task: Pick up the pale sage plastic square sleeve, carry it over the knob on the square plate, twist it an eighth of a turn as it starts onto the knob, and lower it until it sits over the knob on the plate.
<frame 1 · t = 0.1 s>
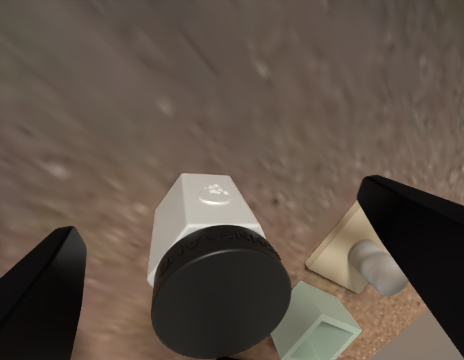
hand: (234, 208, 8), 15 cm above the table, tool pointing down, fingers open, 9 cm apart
sleeve: (302, 309, 34), on the table
knob on square plate: (355, 247, 32), on the table
jar: (201, 209, 25), on the table
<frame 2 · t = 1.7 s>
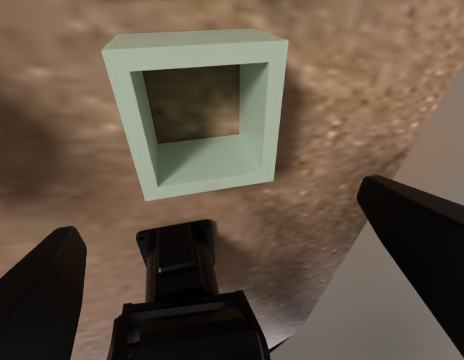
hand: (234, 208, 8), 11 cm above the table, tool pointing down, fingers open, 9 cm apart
sleeve: (195, 98, 16), on the table
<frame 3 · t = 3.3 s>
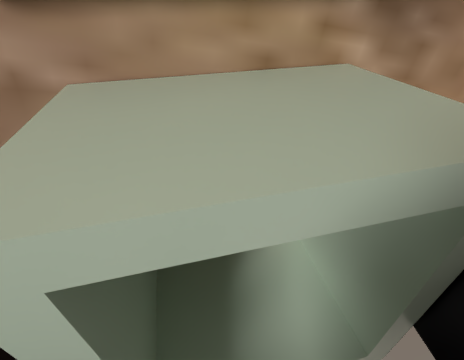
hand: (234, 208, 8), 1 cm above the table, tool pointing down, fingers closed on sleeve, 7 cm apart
sleeve: (226, 185, 9), on the table, touching gripper
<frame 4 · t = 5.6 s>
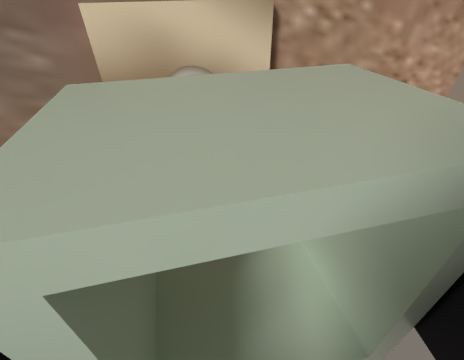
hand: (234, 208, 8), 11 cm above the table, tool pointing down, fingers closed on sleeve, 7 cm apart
sleeve: (226, 185, 9), point 10 cm above the table, touching gripper
knob on square plate: (191, 93, 17), on the table
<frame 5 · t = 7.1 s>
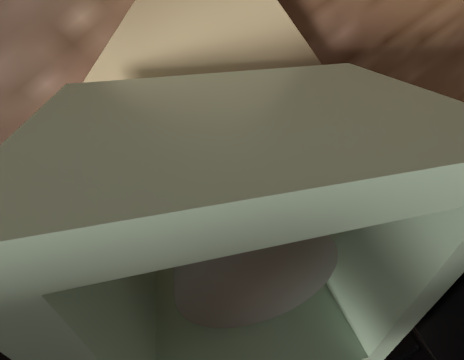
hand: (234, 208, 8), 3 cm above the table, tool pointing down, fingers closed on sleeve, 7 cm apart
sleeve: (226, 185, 9), point 2 cm above the table, touching gripper
knob on square plate: (213, 154, 10), on the table
when the fingers open (3 cm above the table, at t = 8.0 s): sleeve drops 1 cm, resting on knob on square plate.
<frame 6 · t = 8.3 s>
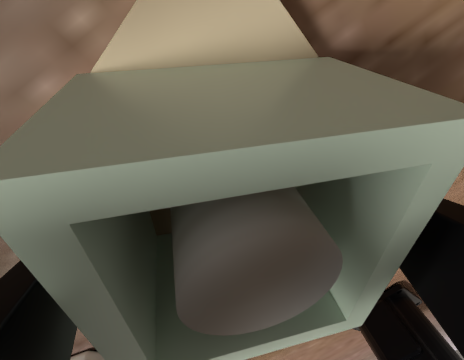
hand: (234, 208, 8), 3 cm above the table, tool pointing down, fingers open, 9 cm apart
sleeve: (220, 169, 9), point 1 cm above the table, touching knob on square plate
knob on square plate: (215, 156, 10), on the table
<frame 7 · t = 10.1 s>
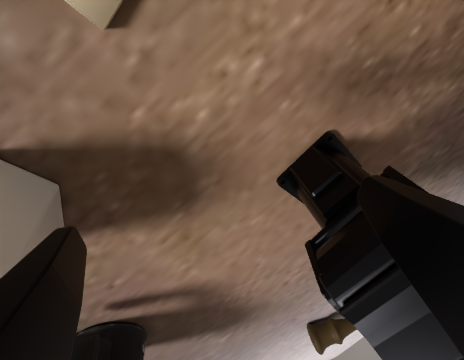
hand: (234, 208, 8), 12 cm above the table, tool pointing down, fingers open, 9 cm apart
milk frother: (75, 341, 32), on the table
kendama: (352, 303, 47), on the table
jar: (2, 202, 19), on the table
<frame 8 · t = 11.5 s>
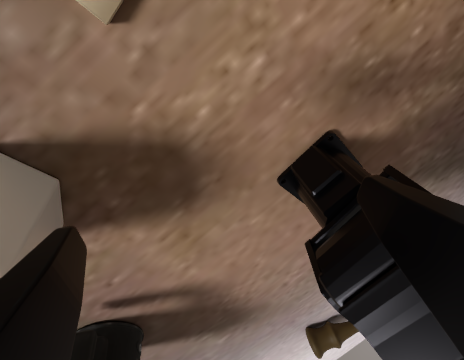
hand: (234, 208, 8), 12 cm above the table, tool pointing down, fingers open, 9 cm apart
milk frother: (71, 339, 31), on the table
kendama: (351, 307, 47), on the table
jar: (1, 196, 19), on the table
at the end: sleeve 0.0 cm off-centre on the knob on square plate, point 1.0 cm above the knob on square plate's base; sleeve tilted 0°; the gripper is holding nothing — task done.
